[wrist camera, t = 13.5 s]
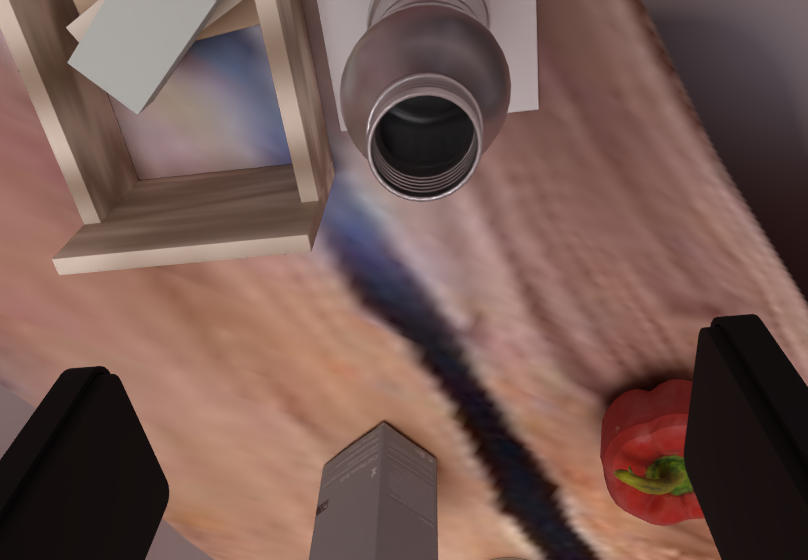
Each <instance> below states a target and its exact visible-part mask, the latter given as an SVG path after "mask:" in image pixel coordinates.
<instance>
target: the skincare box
mask: <svg viewBox="0 0 808 560" xmlns="http://www.w3.org/2000/svg"><path fill="white" fill-rule="evenodd" d="M309 560H438V530H437V468H436V459H435V458H434V457H432V456H431V455H430V454H428V453H427V452H425V451H424V450H422V449H421V448H419V447H418V446H416V445H415V444H413V443H412V442H410V441H409V440H407V439H406V438H405V437H403V436H402V435H401V434H399V433H398V432H396V431H395V430H393V429H392V428H391V427H390V426H388V425H387V424H386V423H384V422H383V423H381V424H380V425H379V426H378V427H377V428H376V429H374V430H373V431H372V432H370V433H368V434H367V435H366V436H364V437H363V438H361V439H360V440H358V441H357V442H355V443H354V444H353V445H351V446H350V447H349V448H347V449H346V450H344V451H343V452H342V453H341V454H339V455H338V456H337V457H335V458H334V459H333V460H332V461H330V462H329V463H328V464H327V465H325V466H324V468H323V472H322V478H321V485H320V492H319V498H318V504H317V511H316V518H315V524H314V531H313V537H312V543H311V550H310V556H309Z"/></svg>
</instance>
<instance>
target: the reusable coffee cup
mask: <svg viewBox="0 0 808 560" xmlns="http://www.w3.org/2000/svg"><path fill="white" fill-rule="evenodd" d="M492 560H525V559H521V558H497V559H492Z"/></svg>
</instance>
